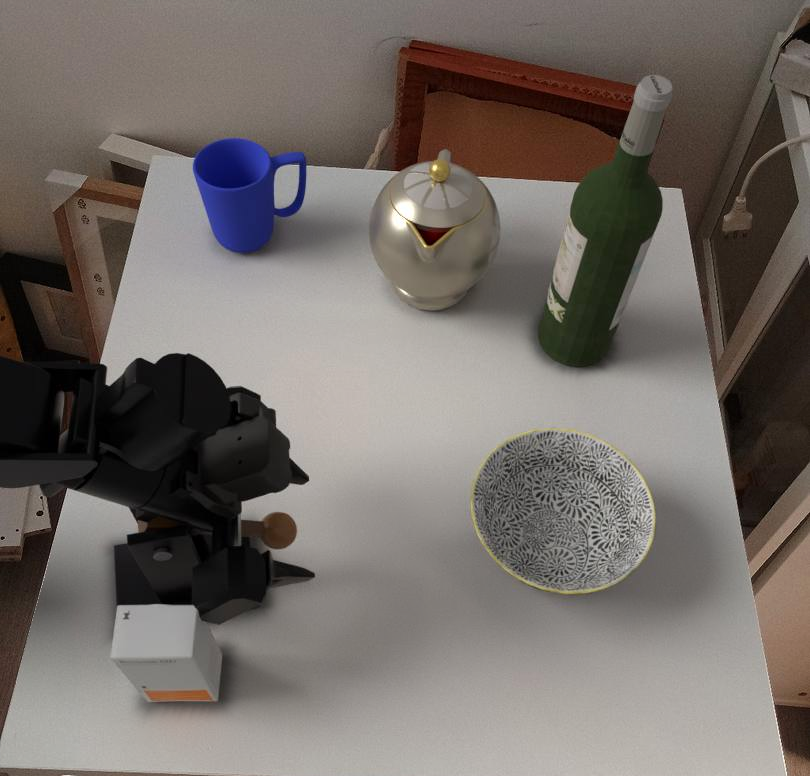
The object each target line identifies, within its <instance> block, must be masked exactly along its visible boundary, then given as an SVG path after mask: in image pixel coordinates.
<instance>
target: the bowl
mask: <svg viewBox="0 0 810 776" xmlns="http://www.w3.org/2000/svg"><path fill="white" fill-rule="evenodd" d="M655 507H656V506H655V501H654V498H653V495H652V492H651V489H650V487H649V485H648V483H647V481H646V479H645V478H644V476H643V475H642V473H641V472H640V470H639V469H638V468H637V466H636V465H635V464H634V463H633V462H632V461H631V459H630V458H629V457H628V456H627V455H625V454H624V453H623V452H622V451H620V450H619V449H618V448H616V447H615V446H614V445H612V444H610V443H609V442H607V441H606V440H603V439H601V438H600V437H597V436H595V435H593V434H590V433H587V432H583V431H580V430H575V429H571V428H561V427H546V428H537V429H532V430H528V431H524V432H521V433H519V434H517V435H514V436H512V437H510V438H508V439H506V440H505V441H503V442H502V443H500V444H499V445H498V446H496V447H495V448H494V449H493V450H491V452H490V453H488V455H487V456H486V458H485V459H484V460H483V462H482V463H481V464H480V466H479V468H478V470H477V472H476V474H475V477H474V480H473V482H472V485H471V492H470V513H471V518H472V523H473V526H474V529H475V531H476V535H477V537H478V538H479V541H480V542H481V544H482V546H483V547H484V549H485V550H486V551H487V553H488V554H489V555H490V557H491V558H492V560H494V561H495V562H496V563H497V564H498V565H499V566H500V567H501V568H502V569H503V570H504V571H506V572H507V573H508V574H510V575H511V576H512V577H513V578H515V579H516V580H518V581H520V582H521V583H523V584H526V585H527V586H530V587H531V588H534V589H536V590H537V589H538V590H541V591H544V592H549V593H554V594H555V593H556V594H561V595H562V594H564V595H583V594H590V593H595V592H600V591H602V590H605V589H608V588H610V587H612V586H615V585H616V584H619V583H620V582H622V581H624V580H625V579H626V578H628V577H629V576H631V574H633V573H634V572H635V571H636V570H637V569H638V568H639V567H640V565H641V564H642V563H643V562H644V560H645V558H646V557H647V556H648V553H649V552H650V549H651V547H652V544H653V542H654V538H655V534H656V527H657V526H656V525H657V517H656V516H657V515H656V508H655Z"/></svg>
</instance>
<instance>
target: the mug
mask: <svg viewBox="0 0 810 776" xmlns="http://www.w3.org/2000/svg"><path fill="white" fill-rule="evenodd" d="M307 163H308V162H307V158H306V155H305V153H303V152H302V151H293V152H285V153H281V154H277V155H274V156H271V155H270V154H269V152H268V151H267V150H266V149H265V147H263V146H262V145H260V144H259V143H257V142H255V141H252V140H249V139H246V138H239V137H238V138H237V137H229V138H222V139H218V140H215V141H213V142H211V143H209V144H207V145H205V146H204V147H202V148H201V149H200V150H199V151H198V152H197V153H196V155H195V157H194V159H193V162H192V172H193V175H194V178H195V182H196V185H197V188H198V191H199V194H200V198H201V200H202V203H203V207H204V209H205V212H206V213H205V214H206V215H207V219H208V222H209V225H210V228H211V231H212V233H213V235H214V238H215V239H216V241H217V242H218V244H219V245H221V246H222V247H223V248H224V249H226V250H228V251H231V252H234V253H240V254H246V253H252V252H255V251H258V250H260V249H262V248H263V247H264V246H266V245H267V244H268V243H269V242H270V240H271V238H272V236H273V234H274V228H275V227H274V226H275V216H276V217H278V218H288V217H291V216H294V215H295V214H297V213H298V212H299V211H300V209H301V208H302V206H303V204H304V200H305V196H306V190H307V168H308V167H307ZM293 164H298V186H297V191H296V196H295V198H294V200H293V201H292V203H291V204H289V205H288V206H285V207H281V208H279V207H276V206H275V205H276V204H275V176H276V173H277V171H278V169H280V168H281V167H284V166H287V165H288V166H289V165H293Z"/></svg>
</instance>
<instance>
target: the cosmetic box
mask: <svg viewBox="0 0 810 776" xmlns="http://www.w3.org/2000/svg"><path fill="white" fill-rule="evenodd" d="M109 657H110V660H111V661H112V663H114V664H115V666H116V667H117V668H118V669H119V670H120V672H122V674H123V675H124V676H125V677H126V678H127V680H128V681H129V682H130V683H131V685H132V686H133V687H134V688H135V689H136V690H137V691H138V692H139V694H141V696H142V697H143V698H144V699H145V701H146V702H148V703H157V702H158V703H159V702H160V703H163V702H164V703H166V702H218V701H219V695H220V685H221V684H220V683H221V673H222V665H223V664H222V662H223V653H222V650H221V649H220V647H219V645H218V642H217V641H216V639H215V637H214V634H213V633H212V630H211V628H210V627H209V624H208V622H205V621H201V619H200V617H199V612H198V610H197V609H196V608H195V607H194V605H165V604H152V605H118V606H117V605H116V612H115V620H114V629H113V635H112V642H111V650H110V656H109Z"/></svg>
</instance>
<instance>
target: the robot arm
mask: <svg viewBox="0 0 810 776" xmlns="http://www.w3.org/2000/svg"><path fill="white" fill-rule="evenodd" d="M107 375H108V366H107V365H105V364H104V363H97V362H96V363H95V362H94V363H91V362H81V360H79V359H71V360H70V359H69V360H60V361H59V360H57V361H25V360H17V359H14V358H11V357H7V356H4V355H2V354H1V355H0V488H2V489H20V488H21V489H22V488H27V487H33V486H39V488H40V491H41V493H42V495H43V496H44V497H46V498H52V497H54V496H56V495H57V494H58V493H59V492H60V491H62V489H64V488H66V489H69V490H72V491H75V492H78V493H82V494H85V495H87V496H92V497H95V498H97V499H100V500H103V501H107V502H111V503H114V504H116V505H121V506H123V507H126V508H129V507H130V508H133V509H136V520H140V521H143V522H146V523H148V522H150V521H151V520H152V519H154V518H155V517H157V516H159V517H162V518H165V519H168V520H172V521H175V522H178V523H181V524H183V525H186V527H187V529H188V532H189V534H190V536H193V537H195V536H196V535H198V534H200V533H201V532H203V531H207V532H212V556H211V557H210V558H208V559H206V560H205V561H203V562H201V563H200V564H198V565H196V566H195V567H193V568H192V605H194V607H195V608H196V609H197V610H198V612H199V617H200V619H201V621H205V622H207V623H209V624H215V625H218V626H219V625H222V624H223V623H226V622H228V621H231V619H234V618H235V617H237V616H239V615H242V614H243V613H245V612H247V611H249V610H251V608H252V609H254V608H253V607H255V606H257V605H261V604H262V603H263V602H264V599H265V597H266V596H267V592H268V590H269V589H273V588H278V587H284V586H289V585H296V584H301V583H307V582H310V581H312V580H313V579H315V578H316V573H315V572H314V571H312V570H310V569H307V568H306V567H302V566H298V565H295V564H291V563H287V562H284V561H281V560H276V559H274V558H273V555H272V552H271V550H270V549H267V550H266V551H264V552H262V553H261V552H260V551H259V549H257V548H256V547H253V546H251V547H249V546H246V545H243V546H241V520H242V511H243V510H242V509H243V508H242V507H243V505H242V503H243V502H247V501H248V502H249V501H251V500H254V499H256V498H260V497H263V496H266V495H269V494H277V493H281V492H283V491H284V490H286V489H287V488H288V487H289V485H297V486H303V485H305V484H307V483H309V482H310V476H309V474H307V473H306V472H305V471H304V469H302V468H301V467H300V466H299V465H298V464H297V463H296V462H295V461H294V460H293V459H292V458H291V456H290V449H291V441H290V439H289V437H288V436H286V434H284V433H283V431H281V430H280V429H279V428H278V427H277V411H276V410H275V409H274V408H272V407H268V406H267V405H266V404H265V403H264V402H263V401H262V397H261V396H262V395H261V394H259V393H257V392H255V391H253V390H251V389H248V388H247V387H244V386H242V385H232V386H228V387H227V386H226V384H225V383H224V381H223V380H222V378H221V376H220V375H219V374H218V373H217V371H216V370H215V369H214V368H213V367H211V365H209V363H207V362H206V361H205V360H203V359H202V358H200V357H199V356H196V355H194V354H192V353H189V352H187V353H186V354H185V353H179V352H172V353H168V354H167V353H166V354H165V355H163V356H161V357H160V358H159V359H157V361H155V362H151V361H150V360H147V359H146V358H143V357H137V358H135V359H134V360H133V361H131V362H130V364H128V365H127V367H126V368H125V370H124V371H123V373H122V374H121V375H120V376H119V377H118V378H117V379H116V380H115V381H113V382H112V383H111V384H110V385H108V384H107ZM66 393H72V397H71V406H70V413H69V415H70V416H69V421H68V422H69V423H68V428H67V429H66V430H65V431H64V432H62V434H61V430H62V422H63V421H62V420H63V414H64V406H65V394H66ZM136 520H135V521H136Z"/></svg>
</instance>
